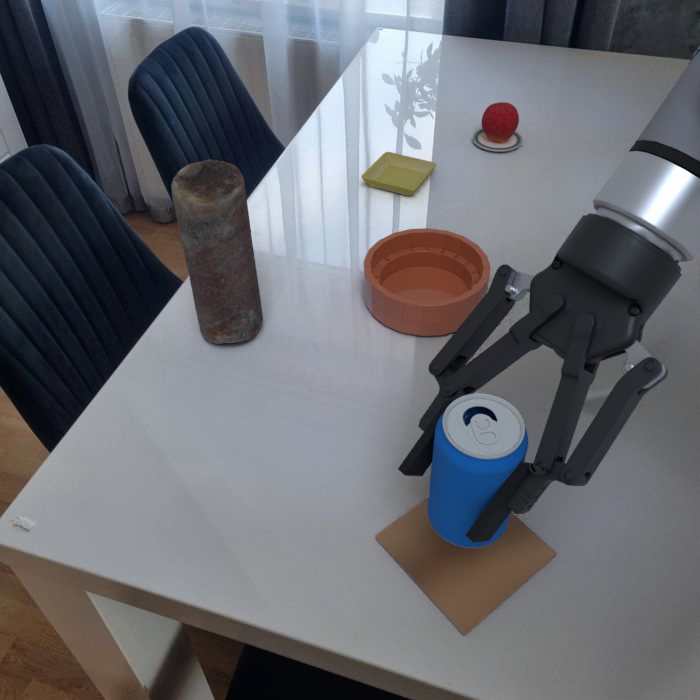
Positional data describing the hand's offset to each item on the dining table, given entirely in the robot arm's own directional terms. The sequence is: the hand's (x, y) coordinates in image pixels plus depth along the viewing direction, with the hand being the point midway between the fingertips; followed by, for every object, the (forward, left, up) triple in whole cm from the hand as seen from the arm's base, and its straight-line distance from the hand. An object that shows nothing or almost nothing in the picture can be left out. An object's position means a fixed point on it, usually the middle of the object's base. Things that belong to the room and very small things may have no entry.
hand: (442, 503), depth 50 cm
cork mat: (0, -4, -10) cm, 11 cm away
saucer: (+49, -39, -11) cm, 63 cm away
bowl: (+27, -24, -10) cm, 37 cm away
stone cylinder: (+37, -3, -11) cm, 38 cm away
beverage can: (0, -3, -5) cm, 6 cm away
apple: (+48, -59, -11) cm, 76 cm away
